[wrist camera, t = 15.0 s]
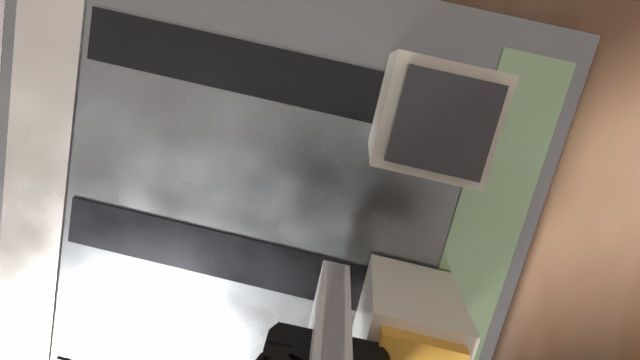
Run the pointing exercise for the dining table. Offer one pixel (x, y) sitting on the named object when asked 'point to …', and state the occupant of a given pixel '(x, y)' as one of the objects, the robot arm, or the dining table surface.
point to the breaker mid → (414, 312)
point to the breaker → (439, 119)
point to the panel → (247, 167)
